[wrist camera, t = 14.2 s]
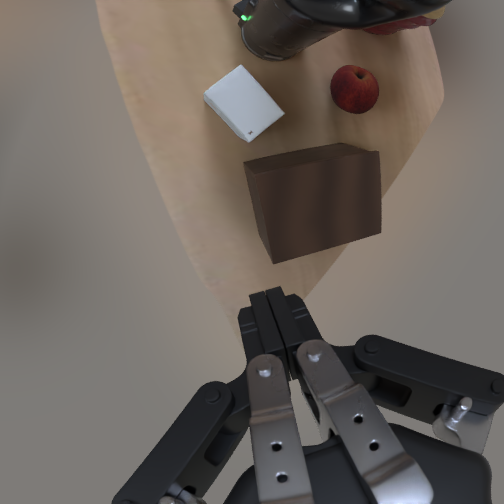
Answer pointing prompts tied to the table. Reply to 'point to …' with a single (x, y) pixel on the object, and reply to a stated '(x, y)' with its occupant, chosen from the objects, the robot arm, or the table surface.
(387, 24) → the kitchen canister
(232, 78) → the small box
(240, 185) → the table surface
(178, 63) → the table surface
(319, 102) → the table surface
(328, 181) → the lid
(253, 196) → the chest
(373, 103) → the apple
